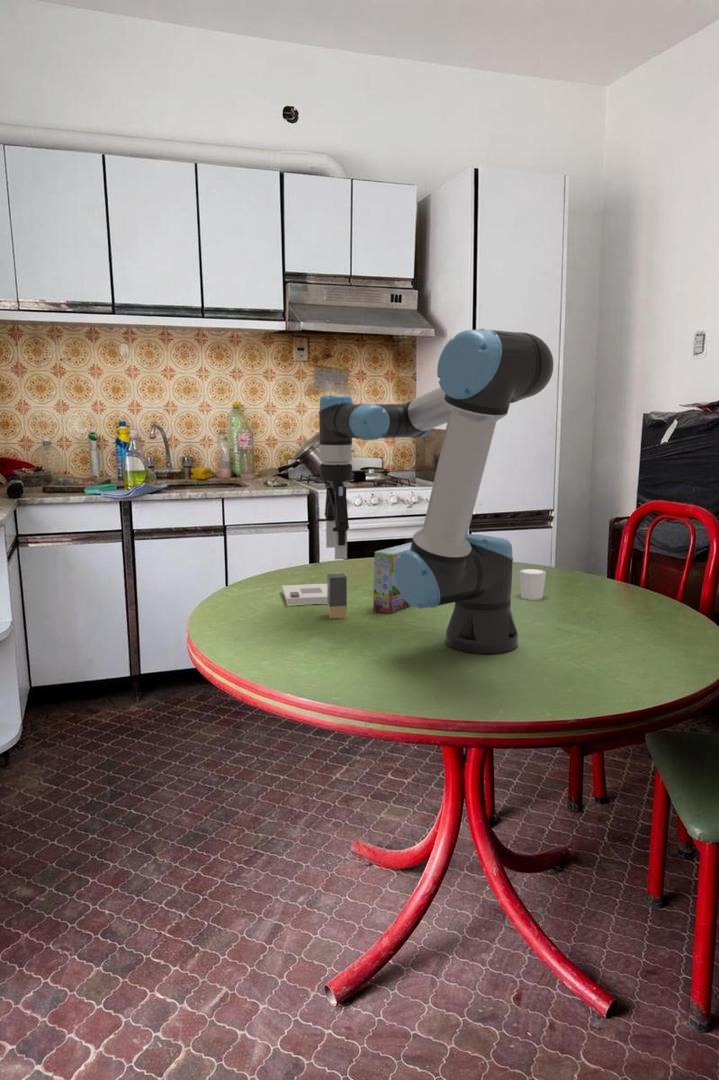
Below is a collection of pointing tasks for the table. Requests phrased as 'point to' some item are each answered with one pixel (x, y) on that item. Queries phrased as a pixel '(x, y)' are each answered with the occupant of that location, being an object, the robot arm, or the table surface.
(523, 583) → the white cup
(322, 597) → the socket plate
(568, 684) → the table surface
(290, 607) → the table surface
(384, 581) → the snack box
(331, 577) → the plug
